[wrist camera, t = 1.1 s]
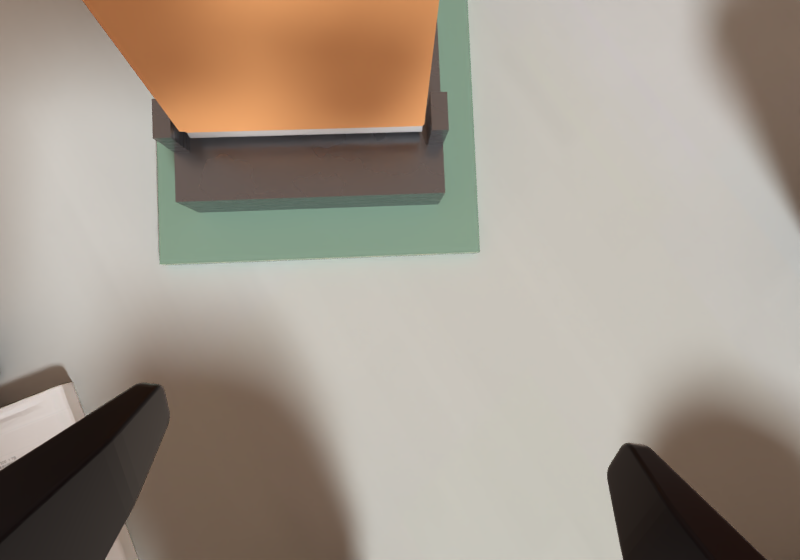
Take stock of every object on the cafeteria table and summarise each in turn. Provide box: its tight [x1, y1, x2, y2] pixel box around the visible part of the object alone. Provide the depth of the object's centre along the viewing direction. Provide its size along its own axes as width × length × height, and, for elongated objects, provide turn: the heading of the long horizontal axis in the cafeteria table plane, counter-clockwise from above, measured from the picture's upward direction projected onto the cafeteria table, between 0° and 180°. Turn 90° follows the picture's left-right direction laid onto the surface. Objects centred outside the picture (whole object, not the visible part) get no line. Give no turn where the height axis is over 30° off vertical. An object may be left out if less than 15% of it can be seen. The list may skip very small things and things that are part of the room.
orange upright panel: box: [82, 0, 439, 138], centre depth 14 cm, size 2×10×11 cm, turn 90°
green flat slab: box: [157, 0, 480, 265], centre depth 23 cm, size 22×16×1 cm
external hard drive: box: [0, 382, 139, 560], centre depth 21 cm, size 2×8×12 cm
